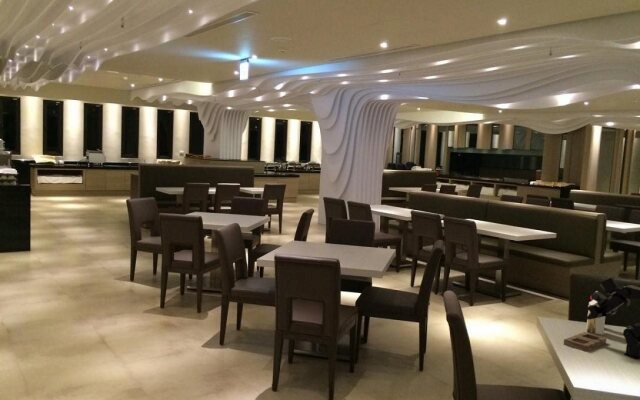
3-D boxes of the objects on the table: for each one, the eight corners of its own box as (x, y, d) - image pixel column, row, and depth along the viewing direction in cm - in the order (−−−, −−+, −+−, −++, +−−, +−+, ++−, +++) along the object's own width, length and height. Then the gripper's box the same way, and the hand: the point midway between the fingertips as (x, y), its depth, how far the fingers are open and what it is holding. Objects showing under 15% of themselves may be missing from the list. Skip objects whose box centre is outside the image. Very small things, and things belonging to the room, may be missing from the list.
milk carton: (588, 333, 288) (592, 298, 287) (586, 329, 295) (589, 295, 293) (603, 335, 286) (607, 300, 285) (600, 331, 293) (604, 296, 291)
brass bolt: (598, 334, 271) (600, 308, 270) (588, 333, 271) (590, 307, 270) (593, 331, 276) (596, 305, 275) (583, 330, 276) (586, 304, 275)
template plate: (584, 336, 282) (584, 331, 282) (605, 343, 273) (606, 338, 273) (563, 344, 268) (564, 339, 268) (586, 351, 259) (586, 346, 259)
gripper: (613, 286, 274) (589, 302, 284) (593, 289, 263) (569, 306, 273) (627, 305, 268) (603, 321, 278) (607, 310, 257) (583, 325, 267)
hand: (589, 318), depth 274 cm, fingers closed on brass bolt, 4 cm apart
